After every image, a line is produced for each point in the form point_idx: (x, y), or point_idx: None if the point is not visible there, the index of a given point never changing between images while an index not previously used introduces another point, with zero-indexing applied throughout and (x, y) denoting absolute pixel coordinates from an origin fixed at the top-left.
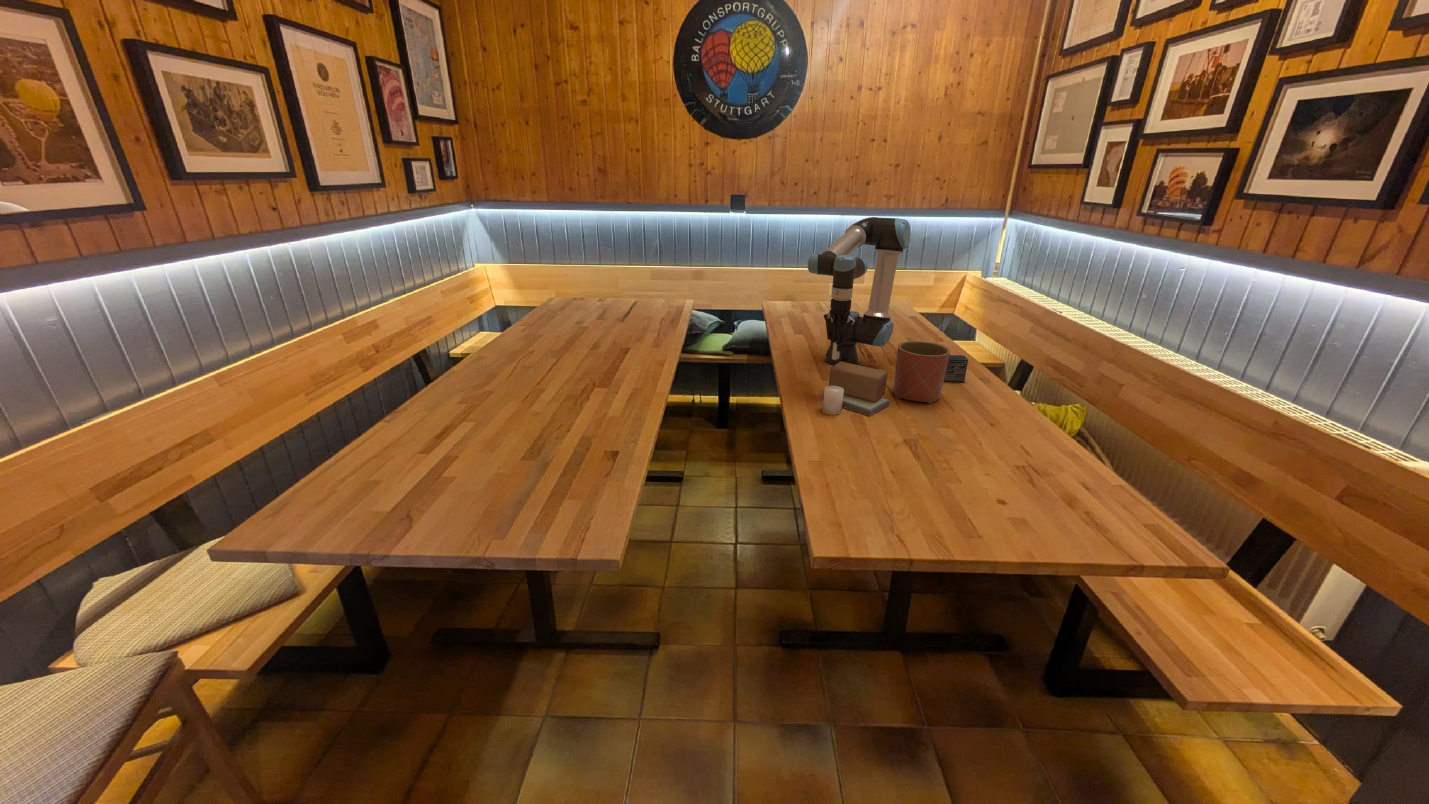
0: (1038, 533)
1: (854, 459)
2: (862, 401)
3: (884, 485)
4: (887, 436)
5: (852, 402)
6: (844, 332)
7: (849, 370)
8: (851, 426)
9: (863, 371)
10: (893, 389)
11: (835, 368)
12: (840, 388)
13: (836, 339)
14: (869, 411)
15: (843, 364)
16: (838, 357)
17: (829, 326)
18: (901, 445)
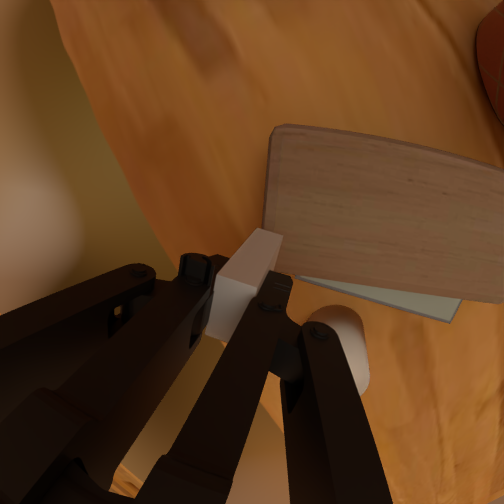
0: None
1: (405, 468)
2: None
3: (439, 486)
4: (474, 388)
5: (392, 295)
6: (294, 475)
7: (372, 271)
8: (399, 386)
9: (444, 252)
10: (485, 81)
11: (289, 269)
12: (354, 368)
13: (202, 302)
14: (446, 321)
15: (312, 186)
16: (280, 244)
17: (46, 383)
18: (491, 404)
